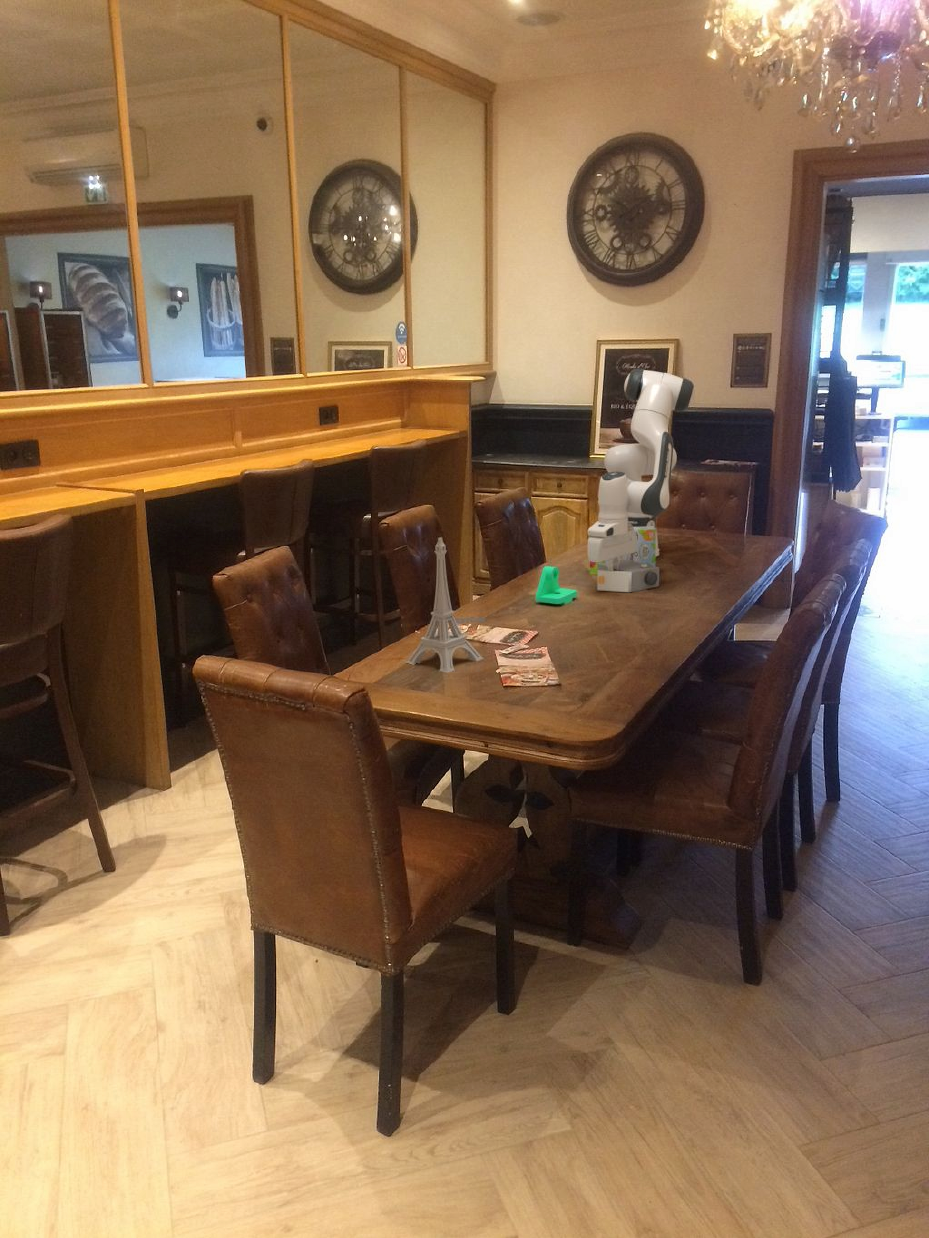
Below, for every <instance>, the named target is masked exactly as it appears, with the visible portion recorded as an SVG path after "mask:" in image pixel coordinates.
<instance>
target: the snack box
mask: <svg viewBox="0 0 929 1238" xmlns="http://www.w3.org/2000/svg"><path fill="white" fill-rule="evenodd" d="M656 530H657V528H656V529H655V527H654V526H652V527H634V531H635V535H636V551H635V553H632V554H628V555H624V556H620V560H622V559H625V560H630V561H634V562H638V563H643V564H647V565H651V566H656V558H657V556H656ZM589 537H590V536H589V535H588V538H589ZM600 563H605V561H601V562H591V561H590V560H589V559H588V572H589V575H590V576H597V564H600Z"/></svg>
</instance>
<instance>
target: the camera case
mask: <svg viewBox="0 0 929 1238" xmlns="http://www.w3.org/2000/svg"><path fill="white" fill-rule="evenodd" d="M612 563H613V562H612ZM598 570H606V571H607V565H606V563H600V564H597V575H596V576H597V580H596V583H597V584H598ZM618 571H624V572H632V592H633V593H634V592H637V591H639V592H640V591H643V590H649V589H653V588H658V586H659V587H660V566H656V565H655V566H651V565H647V564H643V563H638V562H634V561H630V560H625V559H622V560H620V562H619V565H618Z"/></svg>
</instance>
